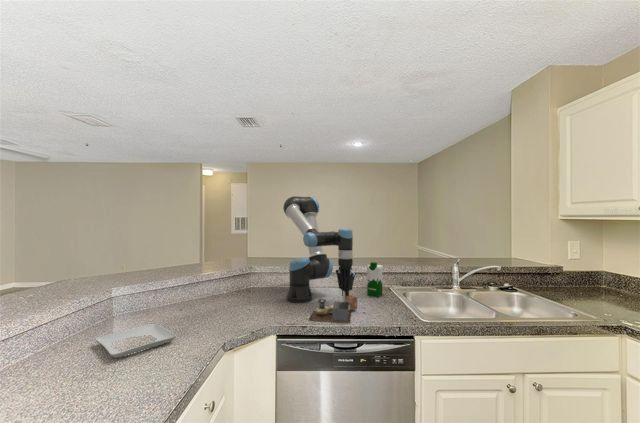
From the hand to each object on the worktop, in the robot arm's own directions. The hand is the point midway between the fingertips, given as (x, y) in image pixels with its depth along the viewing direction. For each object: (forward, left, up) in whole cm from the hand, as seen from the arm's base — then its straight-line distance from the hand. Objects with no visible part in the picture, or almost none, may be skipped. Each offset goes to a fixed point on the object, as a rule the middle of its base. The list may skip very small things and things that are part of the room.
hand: (345, 303), depth 152 cm
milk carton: (-17, +29, -3) cm, 33 cm away
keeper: (+10, -13, -3) cm, 16 cm away
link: (+5, -7, -2) cm, 9 cm away
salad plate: (+9, -92, -3) cm, 93 cm away
